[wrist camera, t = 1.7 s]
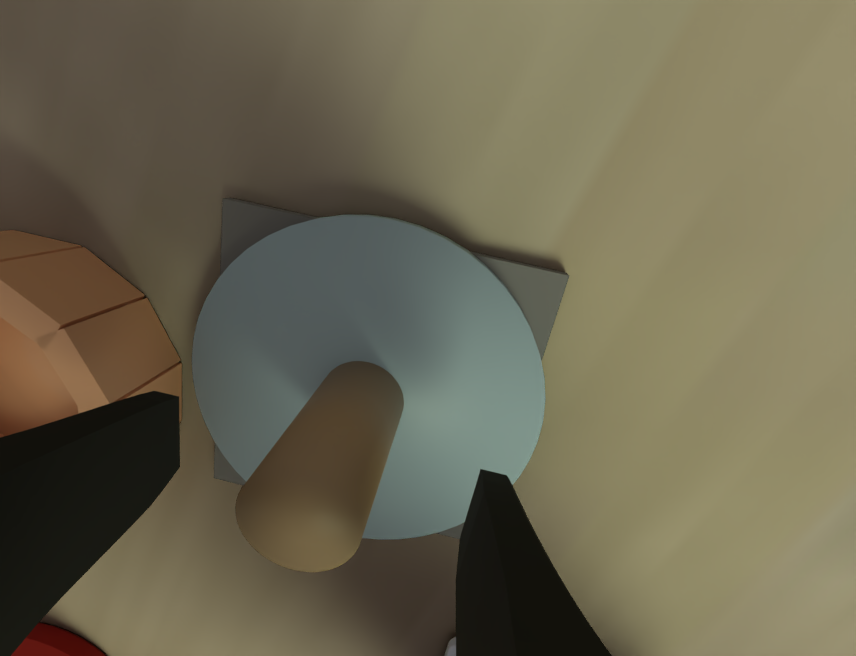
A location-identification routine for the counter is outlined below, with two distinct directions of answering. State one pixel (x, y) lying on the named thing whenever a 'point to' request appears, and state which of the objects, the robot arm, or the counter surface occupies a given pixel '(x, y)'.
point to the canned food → (55, 643)
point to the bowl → (73, 335)
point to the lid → (362, 384)
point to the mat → (525, 282)
